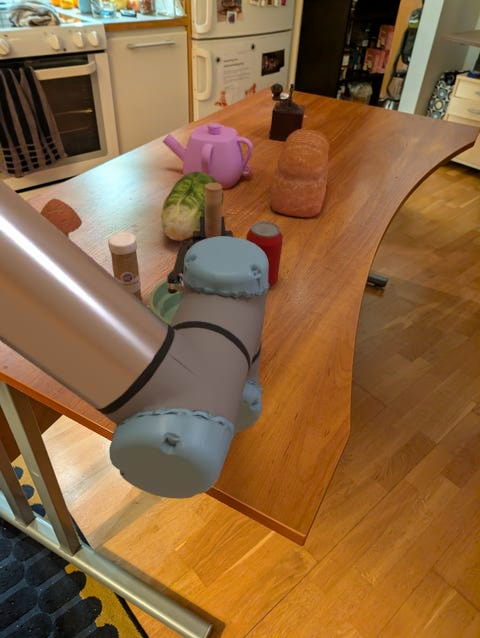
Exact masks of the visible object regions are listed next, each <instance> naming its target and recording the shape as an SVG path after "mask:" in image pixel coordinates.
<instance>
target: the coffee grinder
mask: <svg viewBox="0 0 480 638" xmlns="http://www.w3.org/2000/svg"><path fill="white" fill-rule="evenodd" d="M294 89H295V84H294V83H291V84H290V88H289V94H288V96H287V98H282V97H281V94H282V93H283V92H284V86H283V85H282V84H280V83H278V82H277V83H274V84H272V85H271V86H270V91H271V93H272V96H271V99H272V101H275V102H276V103H275V104H274V106H273V108H272V111H271V120H270V121H271V122H270V130H269V131H268V132H269V139H270V140H274V141H281V142H285V141H286V140H287V138H288V136H289V135H290V134H291V133H293V132H294V131H296V130H299V129H303V125H304V120H305V119H304V118H305V112H306V105H305V104H298V103H297V102H295V101H293V95H294V92H295V90H294Z"/></svg>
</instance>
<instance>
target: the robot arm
mask: <svg viewBox="0 0 480 638" xmlns="http://www.w3.org/2000/svg"><path fill="white" fill-rule="evenodd" d="M40 213H41V212H39V211H38V210H37V209H36V208H35V207H34V206H32V204H30V202H28V201H27V200H26V199H24V198H23V197H22V196H21V195H20V194H19V193H18V192H16V191H15V190H14V189H13V188H12V187H11V186H9V184H7V183H6V182H5V181H4V180H2V179H1V178H0V342H1V343H3V344H4V345H5V346H7V347H8V348H10V349H11V350H12V351H14V352H15V353H17V354H18V355H19V356H21V357H22V358H24V359H25V360H27V362H29V363H30V364H31V365H33V366H35V367H36V368H38V369H39V370H40V371H42V372H43V373H45V374H46V375H47V376H49V377H50V378H51V379H52V380H54V381H56V382H57V383H59V385H61V386H63V387H64V388H66V389H67V390H68V391H70V392H71V393H72V394H74V395H75V396H76V397H78V398H79V399H81V400H82V401H83V402H85V404H88V405H89V406H91V407H92V408H93V409H95V410H96V411H98V412H99V413H100V414H101V415H103V417H105V418H107V420H109V421H111V422H112V423H113V424H115V425H116V426H115V428H114V429H113V432H112V439H111V441H110V445H109V448H108V449H109V450H108V451H109V453H108V454H109V459H110V462H111V464H112V466H113V467H115V468H116V470H118V471H119V475H120V476H121V477H122V479H123V480H124V481H126V482H127V483H128V484H130V485H131V486H134V487H135V488H136V489H138V490H141V491H143V492H145V493H148V494H150V495H154V496H157V497H160V498H165V499H166V498H167V499H174V500H175V499H176V500H177V499H179V500H180V499H181V500H182V499H190V498H193V497H195V496H197V495H203V494H204V493H206V492H208V491H209V490H210V489H212V488H213V487H214V485H216V483H217V481H218V479H219V478H220V475H221V473H222V470H223V467H224V464H225V461H226V458H227V455H228V453H229V451H230V447H231V444H232V442H233V440H234V439H235V434H239V433H242V432H244V431H247V430H248V429H250V428H251V427H253V426H254V425H255V424H256V423H257V422H258V420H259V419H260V417H261V415H262V411H263V401H262V398H263V397H262V394H263V387H262V386H261V383H260V364H261V356H262V355H261V354H262V336H263V329H264V321H265V315H266V314H265V312H266V306H267V305H266V304H267V296H268V290H269V289H270V287H269V286H270V285H269V283H268V268H269V264H268V259H267V256H266V254H265V253H264V251H263V250H262V249H261V248H260V247H258V246H257V245H256V244H254V243H252V242H250V241H248V240H246V239H245V238H242V237H241V238H240V237H235V236H234V233H233V231H232V230H226V225H225V223H226V222H225V216H221V236H218V237H212V238H207V239H205V219H204V217H200V231H193V237H192V241H191V242H189V241H187V240H182V241H180V242H179V247H178V251H177V253H176V254H177V255H176V258H175V262H174V266H173V269H172V270H171V271H170V272H169V273H168V274H167V276H166V279H167V282H168V292H169V293H170V294H174V293H176V292H177V291H181V292H184V294H183V298H182V300H181V302H180V304H179V306H178V308H177V310H176V312H175V314H174V316H173V318H172V321H171V323H170V325H169V324H168V323H166V322H165V321H164V320H163V319H161V318H160V317H159V316H158V315H157V314H156V313H154V312H153V311H152V310H151V309H150V308H149V306H148V305H146V304H145V303H144V302H143V300H142V301H141V300H139V299H138V298H137V297H136V296H135V295H134V294H133V293H131V292H130V291H129V290H128V289H127V288H126V287H124V286H123V285H122V284H121V283H120V282H119V281H118V280H116V279H115V278H114V275H112V274H111V273H110V272H109V271H108V270H106V269H105V268H104V267H103V266H102V265H101V264H100V263H98V262H97V261H96V260H95V259H94V258H92V257H91V256H90V255H89V254H88V253H87V252H85V251H84V250H83V249H82V248H81V247H80V246H79V245H78V244H76V243H75V242H74V241H73V240H72V239H70V237H69V238H68V237H67V236H66V235H65V234H63V233H62V232H61V231H60V230H59V229H58V228H57V227H55V226H54V225H53V224H52V223H51V222H50V221H48V220H47V219H46V218H45V217H44V216H43V215H42V214H40Z"/></svg>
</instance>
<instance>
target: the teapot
mask: <svg viewBox="0 0 480 638" xmlns="http://www.w3.org/2000/svg"><path fill="white" fill-rule="evenodd" d="M162 143H163V144H164V145H165V146H166V147H167V148H168V149H169V150H170V151H171V152H172V153H173V154H175V155H176V156H177V158H179V159H180V160H181V161H182V173H183V176H185V175H187V174H189V173H193V172H202V173H206V174H208V175H210V176H211V177H213V178H214V179H215V180H216V181H217V182H218V183H219V184H221V185H222V190H224V189H225V190H227V189H230V188H231V189H232V187H234V186H235V185H236V184H237V183H238V181H240V179H241V178H242V175H243V176H249V175H250V174H252V172H253V167H252V165H251V164H250V163H248V162H249V161H250V158H251V156H252V154H253V151H254V146H253V143H252V141H251V140H250V139H248V138H247V137H246V136H239V134H238V131H237V130H236V129H235V128H234V127H229V126H224V125H223V124H221V123H219V122H209V123H207V124H201V125H199V126H197V127H195V128H194V129H193V130H192V131H191V133H190V135H189V137H188V141H187V143H186V146H185V147H184V146H183V145H182V144H181V143H180V142H179V141H178V140H177V139H176V138H175V137H174V136H173V135H172V134H171V133H168V135H167V136H166V137H165V138H164V139H163V140H162ZM242 143H243V144H245V145H246V146H247V153H246V156H245V157H244V154H243V153H244V152H243V148H242ZM246 168H247V169H248V170H246Z"/></svg>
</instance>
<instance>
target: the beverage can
mask: <svg viewBox="0 0 480 638" xmlns="http://www.w3.org/2000/svg"><path fill="white" fill-rule="evenodd" d="M283 236H284V235H283V234H282V231H281V228H280V226H279V225H278V224H276V223H275V222H272V221H265V220H264V221H263V220H261V221H257V222H254V223H252V225H251V227H250V229H249V230H248V231H247V233H246V239H245V240H248V241H250V242H252V243H254V244H256V245H257V246H258V247H260V248H261V249H262V250H263V251H264V253H265V254H266V256H267V259H268V264H269V268H268V283H269V285H270V286H269V288H272V287H274V286H275V285H276V284H277V283H278V277H279V273H280V272H279V271H280V266H281V265H280V264H281V258H282V257H281V256H282V249H283V248H282V247H283V241H284V240H283V239H284V237H283Z"/></svg>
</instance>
